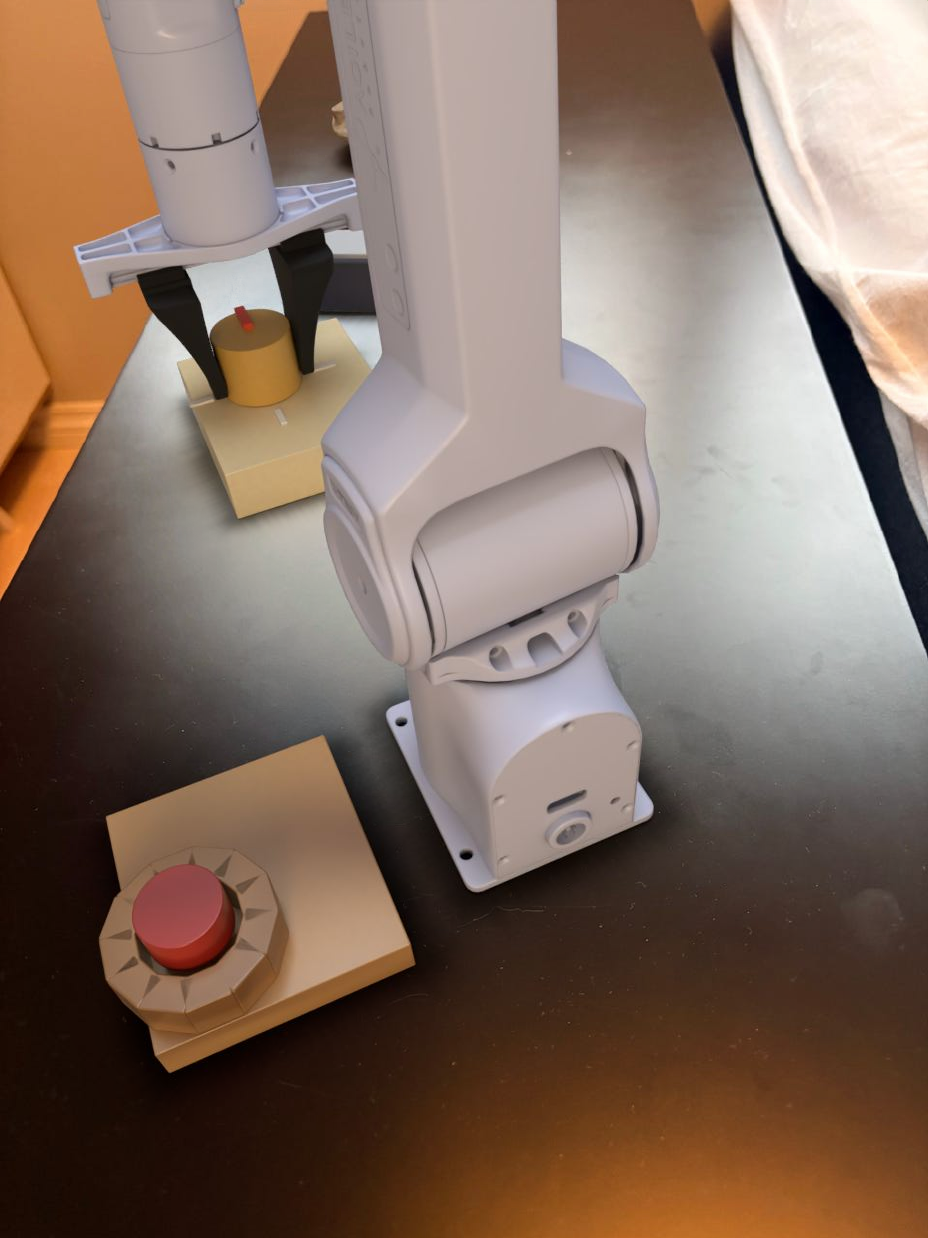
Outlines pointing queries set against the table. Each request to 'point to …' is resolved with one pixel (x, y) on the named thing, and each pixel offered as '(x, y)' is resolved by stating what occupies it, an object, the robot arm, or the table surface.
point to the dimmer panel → (277, 426)
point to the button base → (254, 902)
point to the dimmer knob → (256, 356)
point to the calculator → (348, 274)
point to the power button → (184, 917)
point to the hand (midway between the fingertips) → (262, 377)
